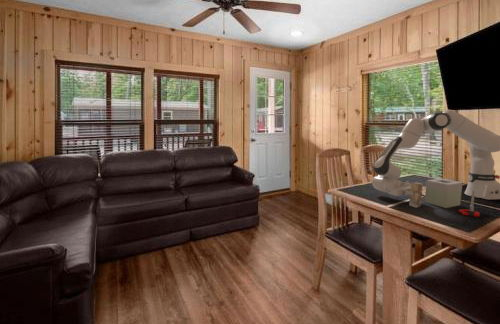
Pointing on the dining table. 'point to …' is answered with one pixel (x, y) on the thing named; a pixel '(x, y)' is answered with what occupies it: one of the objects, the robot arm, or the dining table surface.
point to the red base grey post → (470, 211)
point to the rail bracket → (416, 195)
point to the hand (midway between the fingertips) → (417, 193)
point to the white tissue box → (443, 192)
